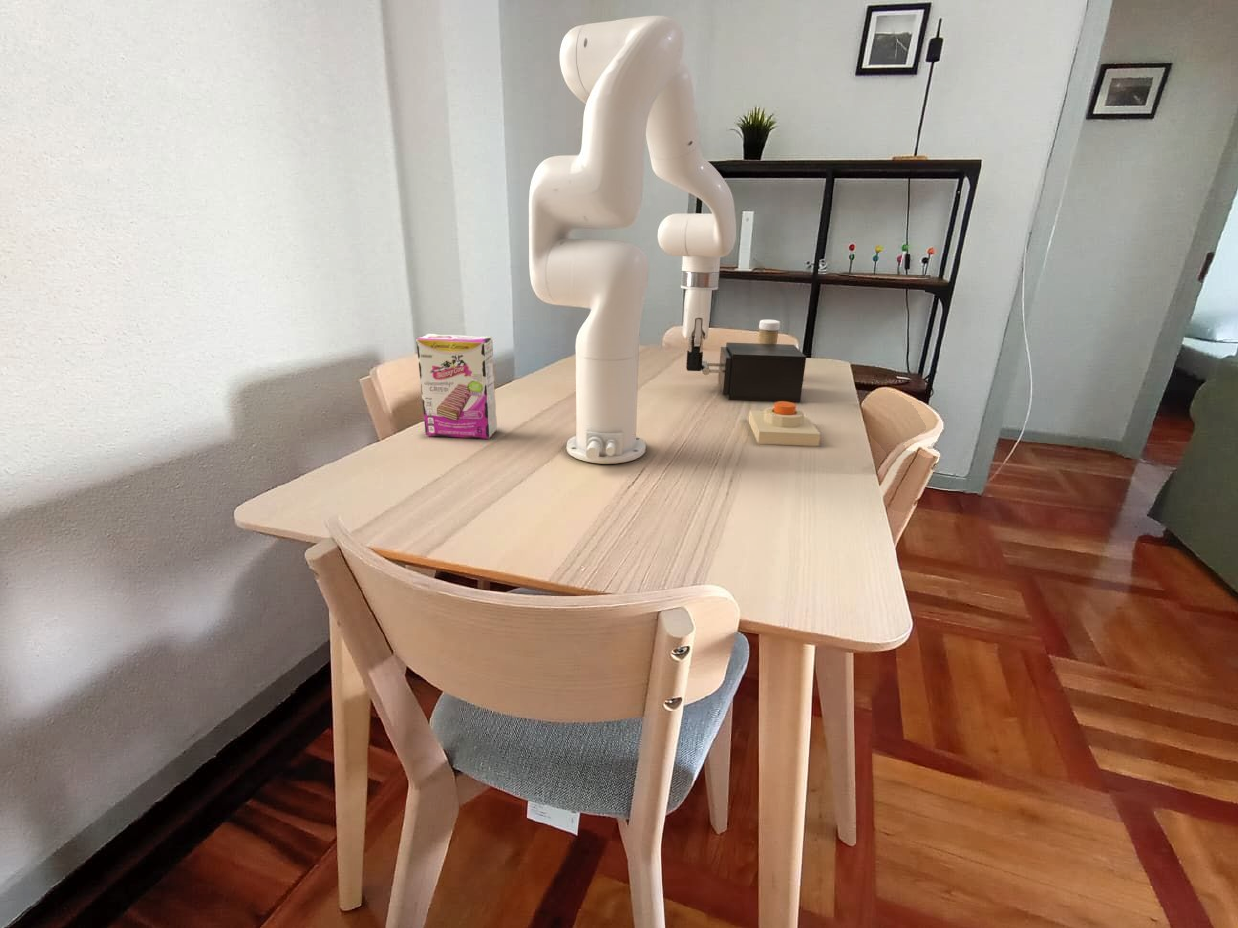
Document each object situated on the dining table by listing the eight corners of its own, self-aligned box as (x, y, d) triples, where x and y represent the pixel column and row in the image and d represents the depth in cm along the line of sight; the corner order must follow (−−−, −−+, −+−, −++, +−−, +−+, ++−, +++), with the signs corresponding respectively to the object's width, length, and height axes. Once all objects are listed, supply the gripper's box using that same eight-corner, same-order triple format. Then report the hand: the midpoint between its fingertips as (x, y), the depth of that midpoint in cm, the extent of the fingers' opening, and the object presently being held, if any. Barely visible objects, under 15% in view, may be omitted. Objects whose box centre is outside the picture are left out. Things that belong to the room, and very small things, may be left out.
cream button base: (818, 446, 101) (822, 423, 100) (757, 443, 102) (760, 421, 100) (803, 423, 112) (806, 402, 111) (748, 421, 113) (750, 400, 111)
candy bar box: (424, 437, 102) (413, 338, 95) (435, 427, 106) (426, 333, 100) (490, 440, 101) (483, 341, 95) (498, 430, 105) (492, 335, 99)
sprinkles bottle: (752, 379, 143) (758, 321, 138) (755, 375, 147) (761, 318, 142) (772, 381, 141) (779, 322, 136) (774, 377, 145) (781, 319, 140)
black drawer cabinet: (728, 400, 126) (732, 354, 122) (722, 385, 137) (726, 342, 134) (800, 403, 125) (806, 356, 121) (788, 387, 137) (793, 344, 133)
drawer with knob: (701, 394, 126) (704, 357, 123) (698, 380, 137) (701, 346, 134) (788, 397, 125) (793, 360, 122) (778, 383, 136) (783, 348, 133)
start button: (796, 417, 104) (798, 407, 103) (775, 416, 104) (776, 406, 103) (792, 411, 107) (793, 401, 107) (771, 410, 107) (773, 400, 107)
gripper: (679, 277, 130) (675, 362, 137) (682, 284, 117) (677, 378, 123) (715, 278, 130) (708, 363, 137) (722, 285, 116) (714, 379, 123)
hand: (693, 369), depth 130 cm, fingers closed
